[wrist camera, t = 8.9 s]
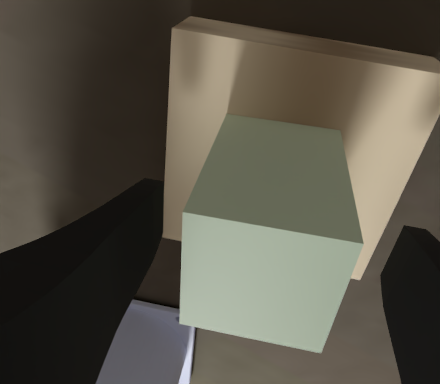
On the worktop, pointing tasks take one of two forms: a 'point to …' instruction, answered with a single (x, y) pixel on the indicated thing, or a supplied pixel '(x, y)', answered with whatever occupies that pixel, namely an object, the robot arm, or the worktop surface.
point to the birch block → (299, 108)
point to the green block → (270, 234)
